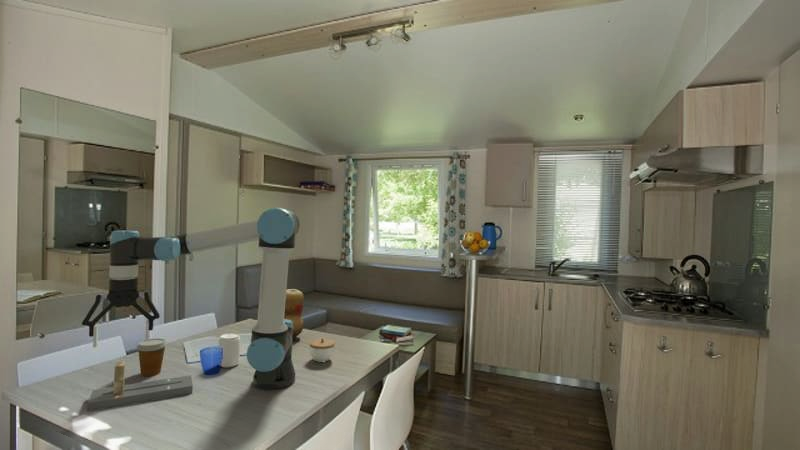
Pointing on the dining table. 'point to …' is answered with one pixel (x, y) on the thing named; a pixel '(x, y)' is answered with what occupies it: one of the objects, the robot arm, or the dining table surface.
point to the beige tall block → (119, 377)
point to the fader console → (140, 392)
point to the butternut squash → (294, 310)
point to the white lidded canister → (230, 349)
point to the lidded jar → (321, 349)
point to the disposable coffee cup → (151, 356)
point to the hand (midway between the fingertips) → (122, 343)
